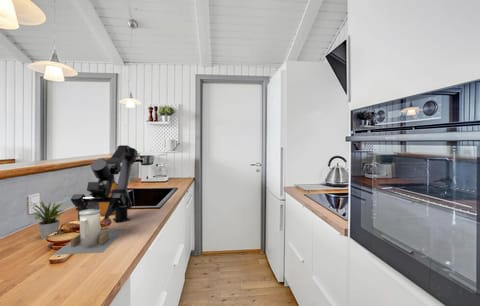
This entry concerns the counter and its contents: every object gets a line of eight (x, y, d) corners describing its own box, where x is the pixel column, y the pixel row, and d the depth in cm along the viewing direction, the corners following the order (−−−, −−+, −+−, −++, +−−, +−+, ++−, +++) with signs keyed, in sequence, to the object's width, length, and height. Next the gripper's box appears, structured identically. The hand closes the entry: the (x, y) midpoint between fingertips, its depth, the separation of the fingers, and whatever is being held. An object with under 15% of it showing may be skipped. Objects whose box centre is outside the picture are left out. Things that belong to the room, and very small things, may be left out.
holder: (87, 232, 105) (87, 223, 105) (126, 231, 107) (126, 221, 107) (51, 258, 81) (51, 245, 81) (103, 255, 83) (102, 243, 83)
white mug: (85, 239, 94) (84, 208, 94) (104, 239, 95) (103, 208, 95) (72, 249, 86) (71, 215, 85) (93, 248, 86) (92, 214, 86)
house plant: (13, 246, 91) (11, 202, 90) (33, 233, 104) (32, 195, 104) (58, 242, 95) (57, 200, 94) (72, 230, 108) (71, 193, 108)
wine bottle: (114, 210, 142) (113, 158, 141) (123, 212, 136) (122, 158, 135) (95, 214, 134) (94, 159, 133) (104, 217, 128) (103, 159, 127)
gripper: (72, 174, 97) (55, 209, 86) (122, 173, 99) (112, 207, 88) (83, 190, 105) (69, 224, 94) (129, 189, 107) (120, 222, 96)
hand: (92, 219), depth 93 cm, fingers open, 9 cm apart
